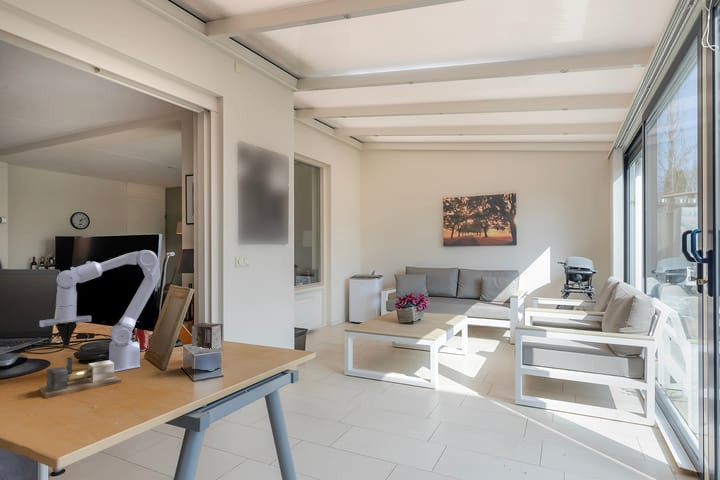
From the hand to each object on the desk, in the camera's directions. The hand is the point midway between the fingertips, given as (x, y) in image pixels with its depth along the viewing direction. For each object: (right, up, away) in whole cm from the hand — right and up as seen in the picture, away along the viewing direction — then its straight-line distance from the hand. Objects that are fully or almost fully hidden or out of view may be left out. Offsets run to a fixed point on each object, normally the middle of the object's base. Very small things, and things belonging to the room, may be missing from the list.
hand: (65, 345), depth 143 cm
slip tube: (+11, -8, -12) cm, 18 cm away
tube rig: (+12, -10, -10) cm, 19 cm away
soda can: (+8, -11, +35) cm, 37 cm away
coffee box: (+45, -11, +10) cm, 47 cm away
